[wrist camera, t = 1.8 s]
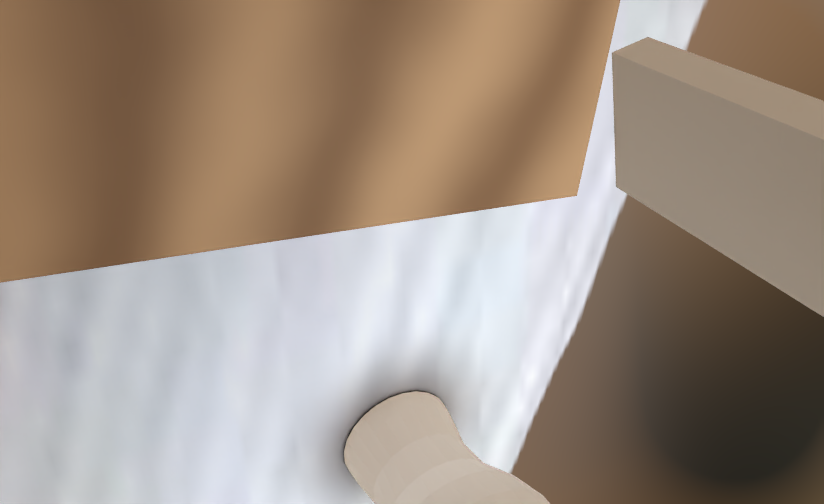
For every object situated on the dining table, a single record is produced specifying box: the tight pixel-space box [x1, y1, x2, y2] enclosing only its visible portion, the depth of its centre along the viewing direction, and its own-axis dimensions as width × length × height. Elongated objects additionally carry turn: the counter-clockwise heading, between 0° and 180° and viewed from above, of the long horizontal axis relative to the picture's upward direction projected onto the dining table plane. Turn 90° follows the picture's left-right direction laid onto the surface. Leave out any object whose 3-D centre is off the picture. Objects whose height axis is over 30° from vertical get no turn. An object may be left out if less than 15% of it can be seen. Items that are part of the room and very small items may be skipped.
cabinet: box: [0, 0, 620, 282], centre depth 25 cm, size 20×11×12 cm, turn 84°
